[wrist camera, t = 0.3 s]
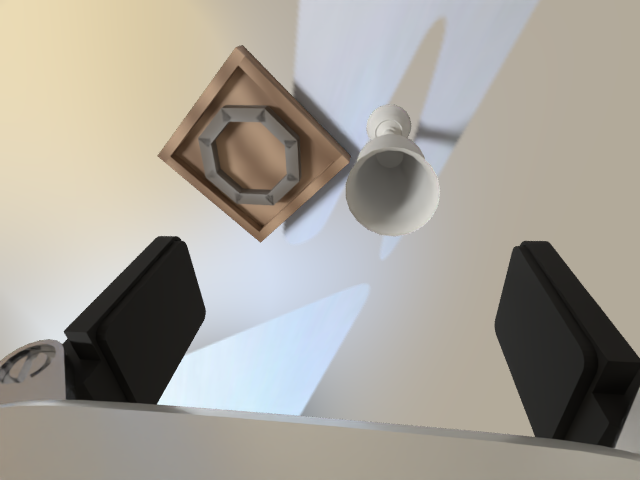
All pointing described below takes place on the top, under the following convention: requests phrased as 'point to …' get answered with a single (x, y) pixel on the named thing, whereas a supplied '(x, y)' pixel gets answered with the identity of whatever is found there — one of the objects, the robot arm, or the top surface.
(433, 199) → the chalice
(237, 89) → the holder tray
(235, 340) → the top surface
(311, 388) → the top surface
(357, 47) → the top surface
